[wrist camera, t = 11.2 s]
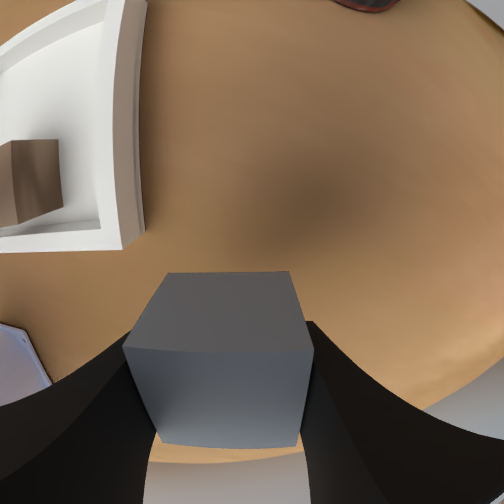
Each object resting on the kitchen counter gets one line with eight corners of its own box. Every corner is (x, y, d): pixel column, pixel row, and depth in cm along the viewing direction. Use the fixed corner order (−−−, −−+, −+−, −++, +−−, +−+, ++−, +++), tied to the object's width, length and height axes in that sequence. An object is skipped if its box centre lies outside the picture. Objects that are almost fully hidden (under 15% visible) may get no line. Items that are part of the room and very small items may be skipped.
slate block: (283, 363, 10) (295, 446, 6) (183, 362, 10) (162, 442, 6) (288, 271, 9) (313, 349, 5) (167, 272, 9) (121, 346, 5)
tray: (145, 232, 14) (122, 249, 11) (-1, 241, 14) (-25, 253, 11) (147, 3, 9) (129, -20, 7) (-3, 73, 9) (-27, 69, 7)
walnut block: (63, 207, 13) (18, 224, 9) (23, 214, 13) (-19, 231, 9) (58, 139, 11) (10, 140, 8) (18, 154, 11) (-26, 160, 8)
